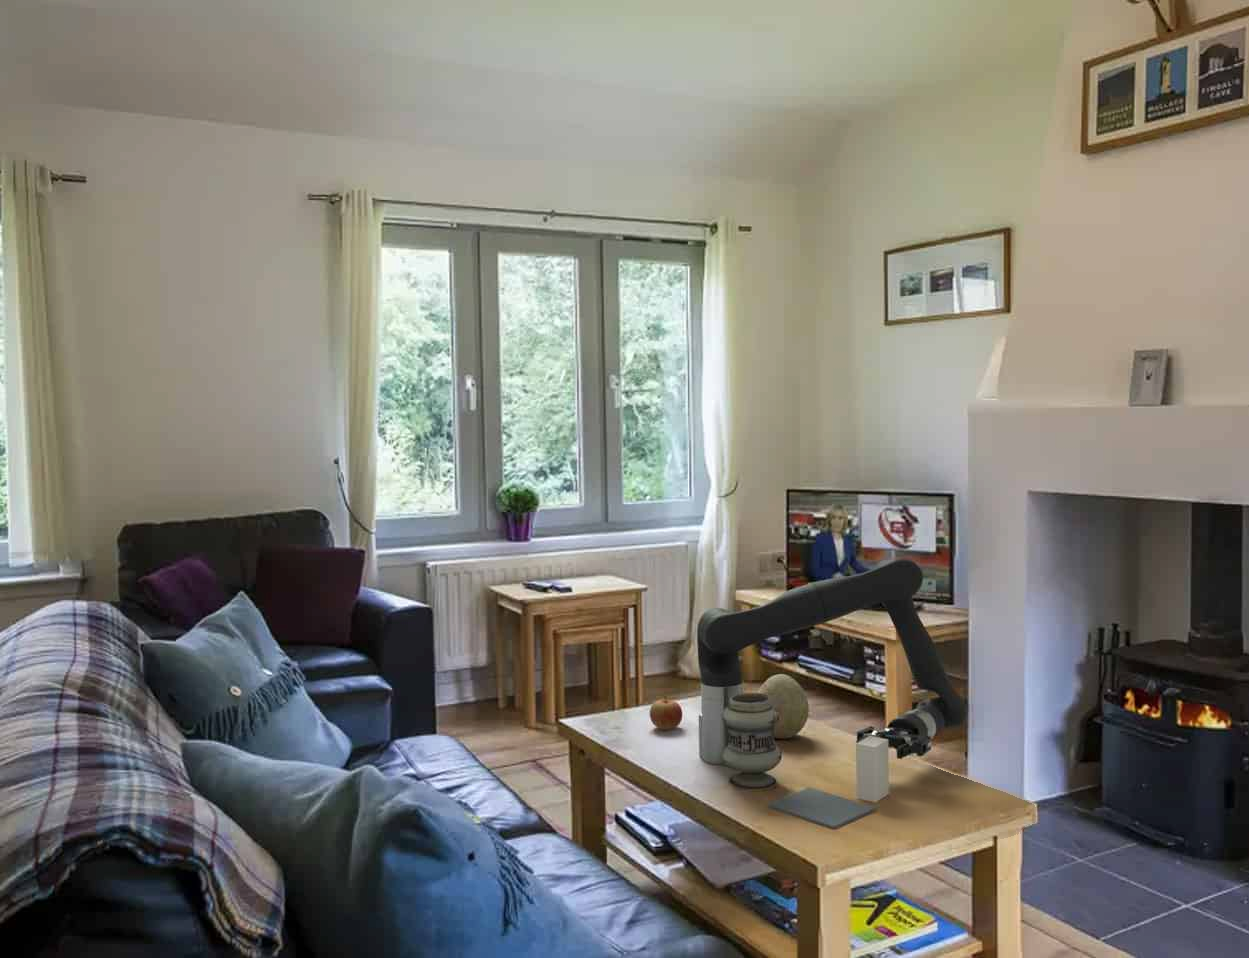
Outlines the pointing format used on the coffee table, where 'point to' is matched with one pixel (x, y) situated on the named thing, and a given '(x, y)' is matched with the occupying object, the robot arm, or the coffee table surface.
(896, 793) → the coffee table surface
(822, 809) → the mat
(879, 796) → the tall cream pillar block
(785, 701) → the fossilized egg
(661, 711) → the apple
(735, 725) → the apothecary jar
